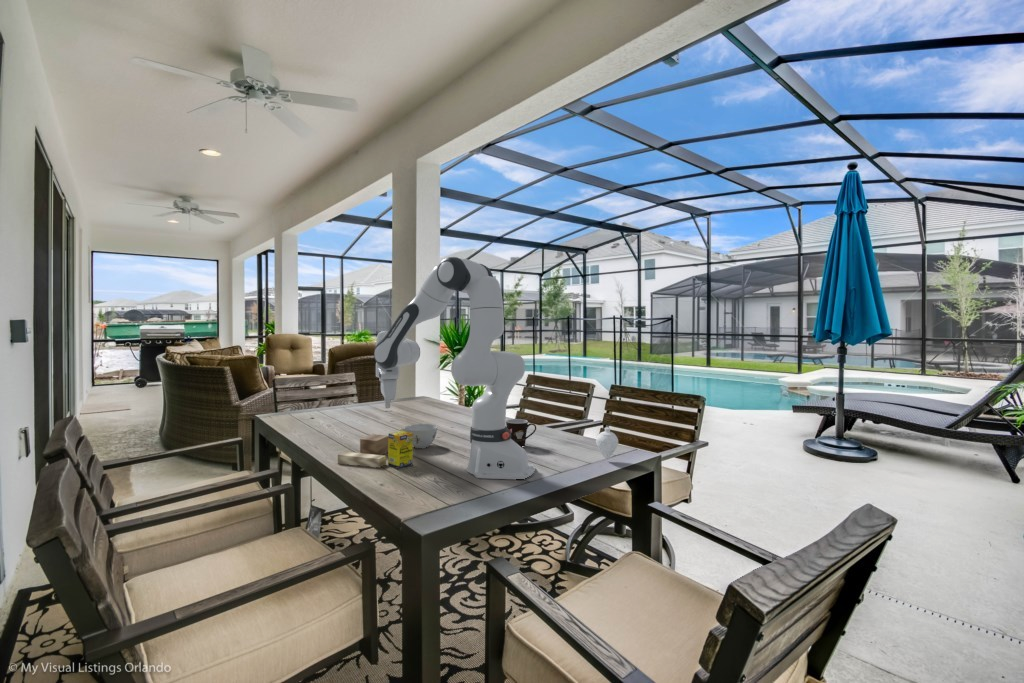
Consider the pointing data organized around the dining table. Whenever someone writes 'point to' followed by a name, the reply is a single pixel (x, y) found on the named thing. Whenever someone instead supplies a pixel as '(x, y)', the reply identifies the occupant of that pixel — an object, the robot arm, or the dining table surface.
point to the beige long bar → (361, 459)
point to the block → (374, 444)
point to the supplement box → (400, 449)
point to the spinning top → (607, 442)
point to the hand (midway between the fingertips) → (387, 407)
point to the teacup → (422, 434)
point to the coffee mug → (519, 430)
